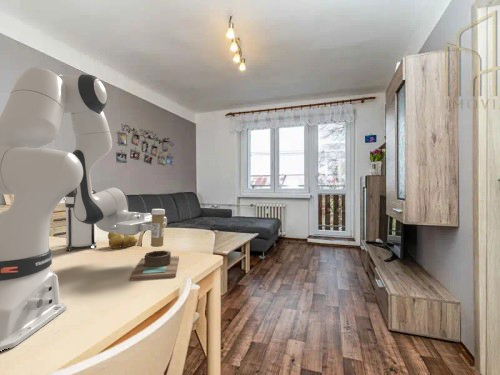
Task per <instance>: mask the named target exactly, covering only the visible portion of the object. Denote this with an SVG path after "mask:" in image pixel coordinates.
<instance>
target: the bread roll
mask: <svg viewBox="0 0 500 375" xmlns="http://www.w3.org/2000/svg"><path fill="white" fill-rule="evenodd" d="M107 238H108V246H109V247H110V248H112V249H119V248H127V247H131V246H134V245H137V243H138V240H139V239H138V238H137V237H136V236H135V235H123V234H118V233H111V232H108V234H107Z"/></svg>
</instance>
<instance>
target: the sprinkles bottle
mask: <svg viewBox="0 0 500 375" xmlns="http://www.w3.org/2000/svg"><path fill="white" fill-rule="evenodd" d="M165 214H166V209H163V208H152V209H151V215H152V224H151V225H155V226H156V227H155V228H156V229H155V230H150V238H151V239H150V246H151V247H153V248H159V247H163V246H164V245H165V244H164V237H165V235H164V234H165V232H164V231H165V227H164V216H165Z"/></svg>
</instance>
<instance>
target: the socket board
mask: <svg viewBox="0 0 500 375" xmlns="http://www.w3.org/2000/svg"><path fill="white" fill-rule="evenodd" d="M171 254H172V253H171V251H169V250H154V251H153V250H152V251H150V252H147V253H145V255H144V257H142V258H141V259H140V260H139V261H138V263H137V264H136V266H135V268H134V269H133V271H132V273H131V274H130V275H129V281H135V280H136V281H139V280H150V279H164V278H167V279H168V278H176V277H177V273H178V265H179V261H180V260H179V259H180V257H179V256H178V255H176V256H172V255H171Z"/></svg>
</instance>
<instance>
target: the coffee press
mask: <svg viewBox="0 0 500 375" xmlns="http://www.w3.org/2000/svg"><path fill="white" fill-rule="evenodd" d="M95 193H97V191H96V190H94V189H92V194H95ZM64 198H65V204H64V206H65V241H66V242H65V244H66V245H67V246H66V249H65V250H66V252H71V251H72V250H73V248H74V249H75V248H82V247H90V248H91V249H92V250H94V249H96V248H97V242H98V241H97V240H98V227H97V226H96V224H86V223H83V222H81V221H79V220H78V219H77V218H76V217H75V215H74V209H73V208H74V192H73V191H72V192H70V193H69V194H67V195H66V196H65V197H64Z"/></svg>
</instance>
